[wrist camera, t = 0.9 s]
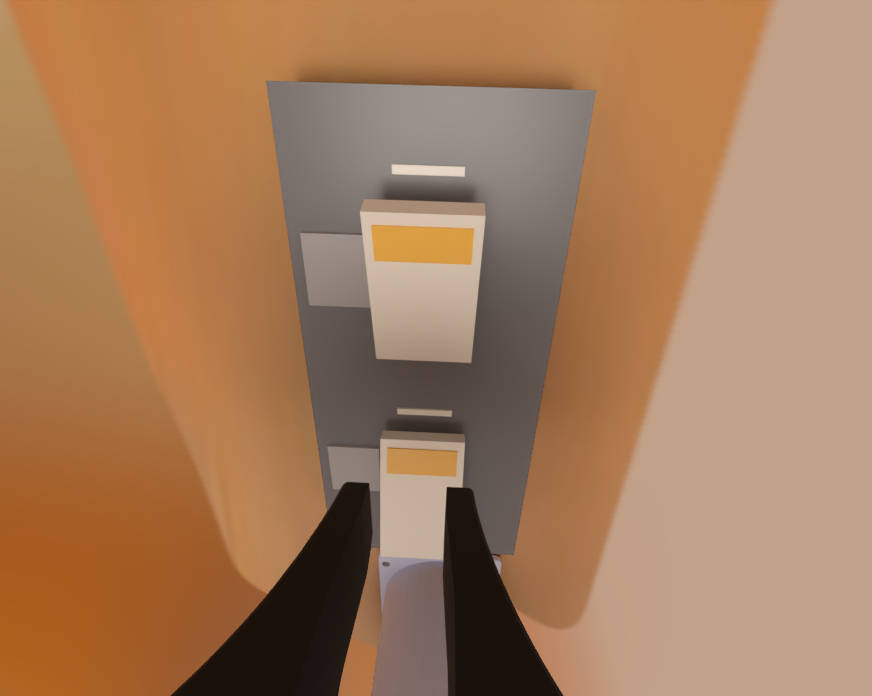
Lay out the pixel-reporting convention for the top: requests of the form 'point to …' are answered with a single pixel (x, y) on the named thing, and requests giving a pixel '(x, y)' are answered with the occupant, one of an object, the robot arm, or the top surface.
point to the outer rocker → (423, 277)
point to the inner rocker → (417, 490)
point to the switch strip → (499, 274)
